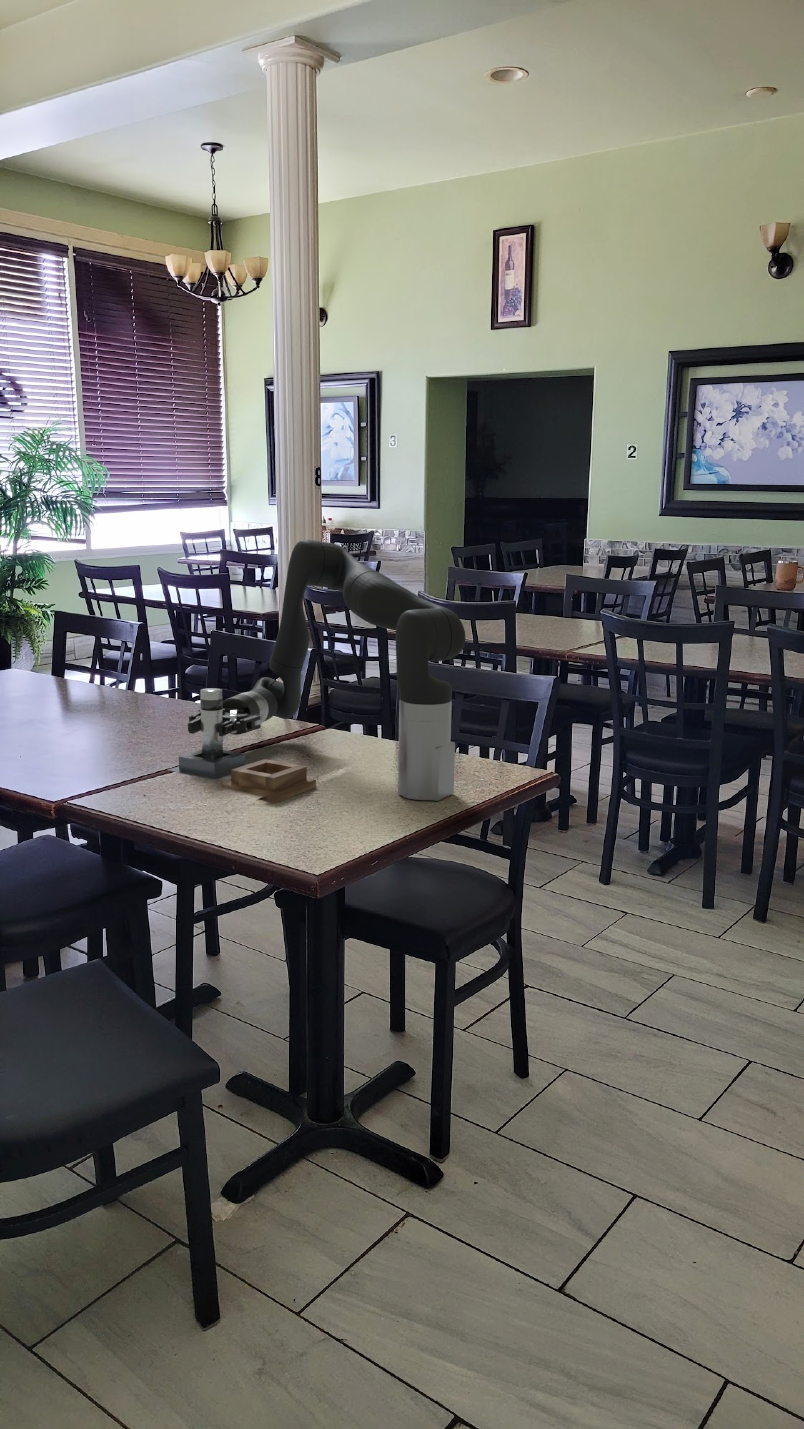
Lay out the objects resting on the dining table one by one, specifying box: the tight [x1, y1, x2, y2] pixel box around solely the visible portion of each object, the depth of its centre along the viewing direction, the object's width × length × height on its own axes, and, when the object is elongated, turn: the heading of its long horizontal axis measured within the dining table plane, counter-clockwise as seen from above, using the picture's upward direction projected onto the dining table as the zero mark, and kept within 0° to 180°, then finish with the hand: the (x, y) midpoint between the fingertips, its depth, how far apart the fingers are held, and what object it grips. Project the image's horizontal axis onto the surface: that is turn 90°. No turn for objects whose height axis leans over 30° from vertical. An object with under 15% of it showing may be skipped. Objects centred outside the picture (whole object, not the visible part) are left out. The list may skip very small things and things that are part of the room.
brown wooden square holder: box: [221, 758, 317, 804], centre depth 187 cm, size 12×12×4 cm
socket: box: [167, 749, 249, 781], centre depth 198 cm, size 12×12×4 cm
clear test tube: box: [199, 687, 224, 760], centre depth 196 cm, size 4×4×15 cm
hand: (205, 729), depth 194 cm, fingers open, 5 cm apart
